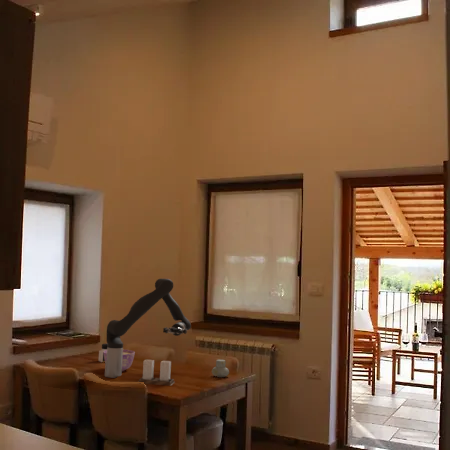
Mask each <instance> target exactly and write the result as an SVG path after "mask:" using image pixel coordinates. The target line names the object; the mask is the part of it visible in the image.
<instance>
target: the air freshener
mask: <svg viewBox="0 0 450 450" xmlns="http://www.w3.org/2000/svg"><path fill="white" fill-rule="evenodd" d="M215 361H216V363H215V366H214V367H213V368H212V369H211V373H212V375H213V376H215V377H216V376H217V377H216V378H225V377H227V376H228V375H229V374H230V371H229V368H227V367H226V360H225V359H216V360H215Z"/></svg>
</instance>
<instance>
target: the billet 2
mask: <svg viewBox="0 0 450 450" xmlns="http://www.w3.org/2000/svg"><path fill="white" fill-rule="evenodd" d="M159 369H160V371H159V378H160V381H165V382H170V379H171V370H172V360H162V361H160V368H159Z"/></svg>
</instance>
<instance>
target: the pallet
mask: <svg viewBox="0 0 450 450" xmlns="http://www.w3.org/2000/svg"><path fill="white" fill-rule="evenodd" d="M138 382H144V383H145V385H154V386H155V385H157V386H159V385H160V386H173V385H174V384H175V383H176V381H175V379H174V378H170V382H165V381H160V377H153V381H151V380H143V376H142V377H140V379H138Z"/></svg>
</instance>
